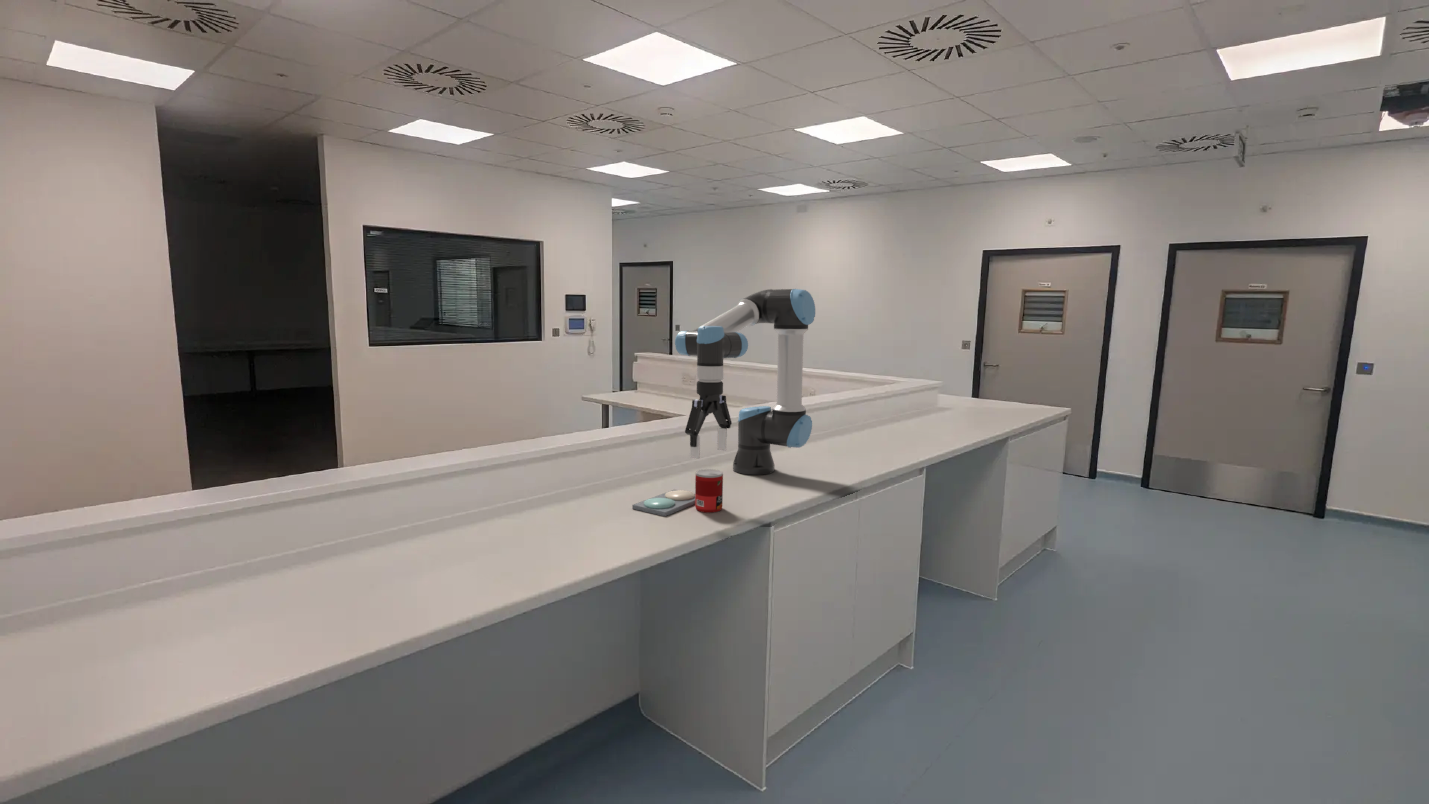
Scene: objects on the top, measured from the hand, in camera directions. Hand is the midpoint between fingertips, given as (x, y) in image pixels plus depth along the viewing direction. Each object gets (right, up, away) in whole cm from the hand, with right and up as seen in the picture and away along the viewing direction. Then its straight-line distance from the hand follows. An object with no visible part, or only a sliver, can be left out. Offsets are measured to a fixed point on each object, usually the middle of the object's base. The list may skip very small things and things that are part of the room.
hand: (708, 454), depth 187 cm
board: (-12, -15, +6) cm, 20 cm away
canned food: (0, -16, +2) cm, 17 cm away
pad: (-14, -15, +2) cm, 21 cm away
